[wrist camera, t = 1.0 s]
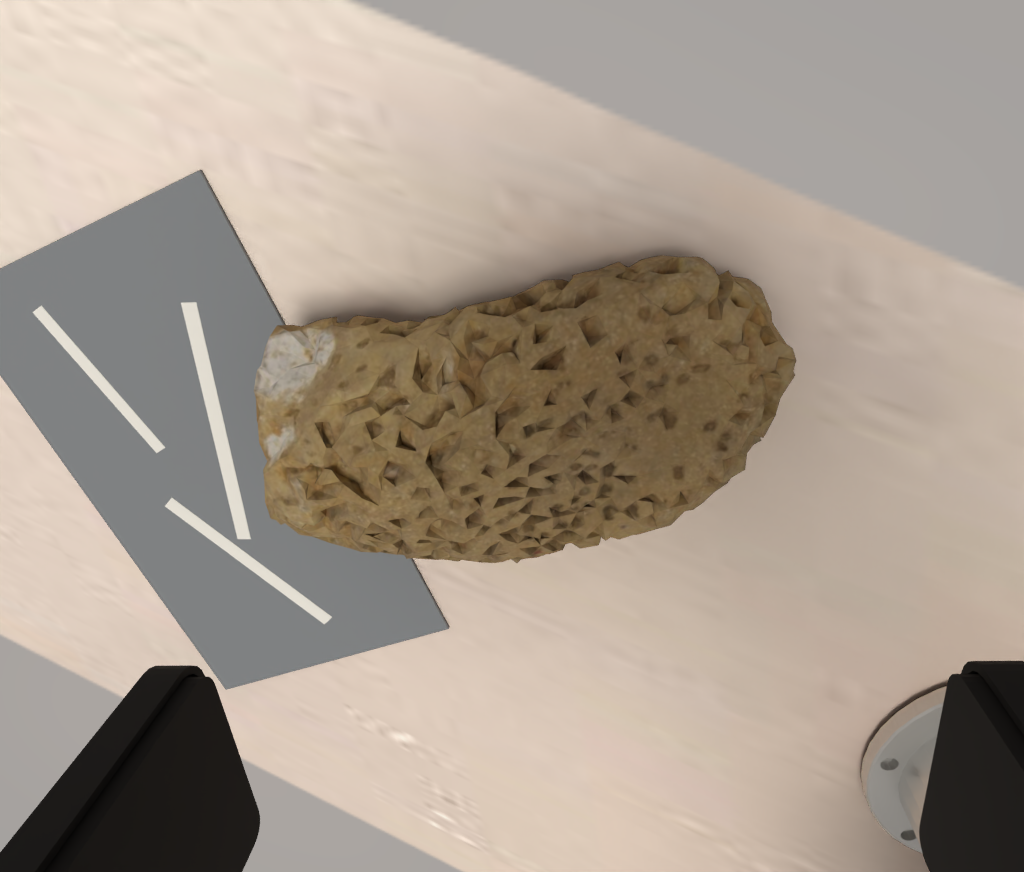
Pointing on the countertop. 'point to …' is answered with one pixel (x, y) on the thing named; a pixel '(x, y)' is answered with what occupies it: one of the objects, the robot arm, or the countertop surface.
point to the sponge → (521, 414)
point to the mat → (189, 436)
